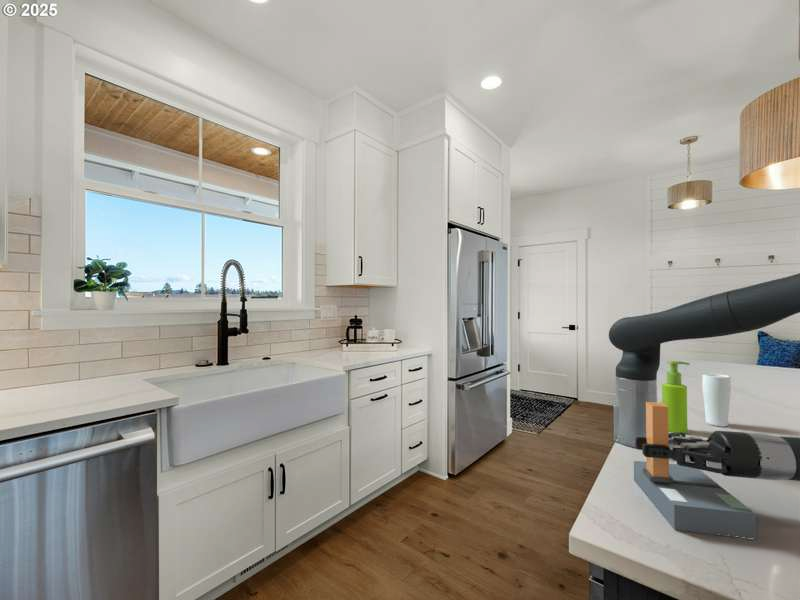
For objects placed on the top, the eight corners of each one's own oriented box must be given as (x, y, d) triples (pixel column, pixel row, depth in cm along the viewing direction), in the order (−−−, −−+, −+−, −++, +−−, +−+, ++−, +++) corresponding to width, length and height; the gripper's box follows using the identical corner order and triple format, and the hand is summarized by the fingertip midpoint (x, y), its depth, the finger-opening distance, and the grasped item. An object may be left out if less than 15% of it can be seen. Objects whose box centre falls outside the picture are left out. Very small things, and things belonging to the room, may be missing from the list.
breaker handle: (664, 474, 71) (663, 402, 71) (673, 483, 68) (672, 407, 68) (642, 472, 72) (642, 401, 72) (650, 481, 68) (649, 406, 69)
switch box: (695, 486, 76) (694, 465, 76) (755, 539, 59) (755, 513, 59) (633, 480, 79) (633, 460, 79) (674, 529, 61) (674, 504, 61)
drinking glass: (702, 419, 120) (702, 372, 121) (730, 424, 116) (730, 374, 116) (702, 425, 115) (701, 375, 115) (731, 429, 111) (731, 378, 111)
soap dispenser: (696, 433, 107) (695, 362, 108) (671, 433, 107) (670, 362, 108) (681, 427, 113) (680, 360, 113) (657, 426, 113) (657, 359, 114)
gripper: (725, 421, 73) (626, 415, 77) (778, 448, 60) (654, 439, 64) (725, 460, 73) (626, 452, 77) (779, 496, 60) (655, 484, 64)
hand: (639, 446), depth 70 cm, fingers closed on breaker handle, 3 cm apart
